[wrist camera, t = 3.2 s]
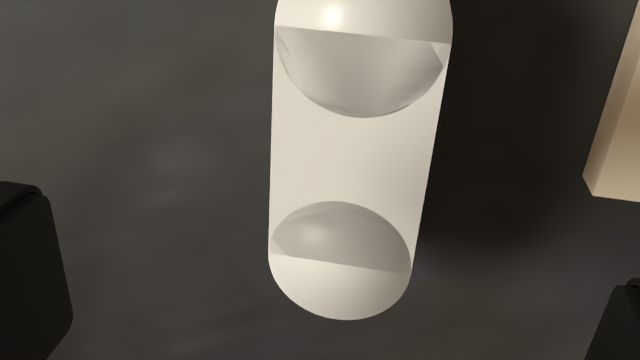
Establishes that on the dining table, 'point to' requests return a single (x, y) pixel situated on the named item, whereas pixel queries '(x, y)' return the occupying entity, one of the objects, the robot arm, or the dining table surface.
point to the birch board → (619, 129)
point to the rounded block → (352, 147)
